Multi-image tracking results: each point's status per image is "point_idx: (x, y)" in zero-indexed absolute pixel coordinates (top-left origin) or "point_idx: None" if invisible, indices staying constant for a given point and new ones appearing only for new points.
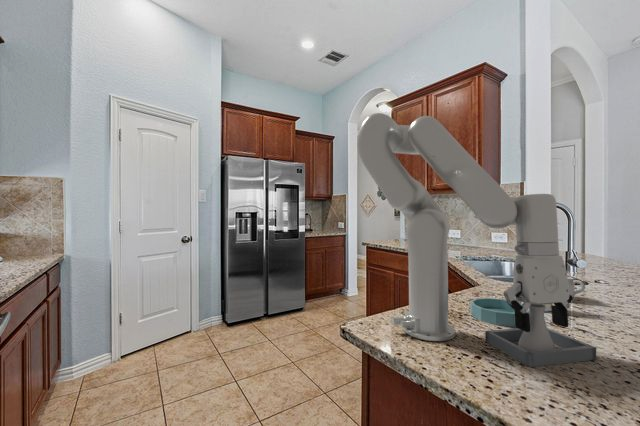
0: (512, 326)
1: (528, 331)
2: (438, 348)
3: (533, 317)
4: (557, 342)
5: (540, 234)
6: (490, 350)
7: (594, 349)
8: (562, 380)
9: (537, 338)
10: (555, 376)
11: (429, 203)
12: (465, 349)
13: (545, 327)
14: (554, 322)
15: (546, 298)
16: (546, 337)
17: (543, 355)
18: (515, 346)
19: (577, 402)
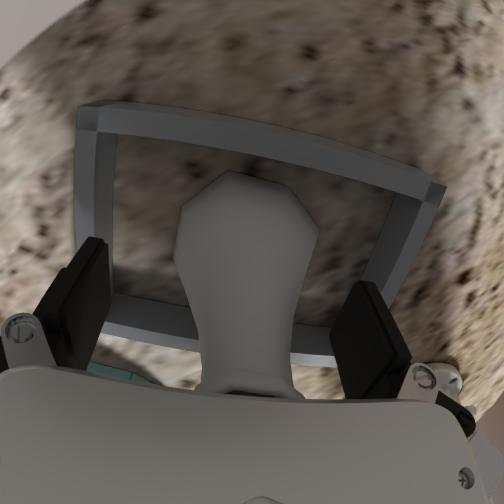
0: (135, 374)
1: (369, 281)
2: (475, 336)
3: (290, 347)
4: (109, 245)
5: None
6: (397, 295)
7: (91, 104)
8: (420, 68)
9: (295, 251)
10: (414, 92)
11: None
12: (441, 318)
13: (243, 275)
14: (109, 298)
15: (338, 449)
16: (256, 236)
17: (385, 163)
18: (415, 252)
19: (491, 14)
